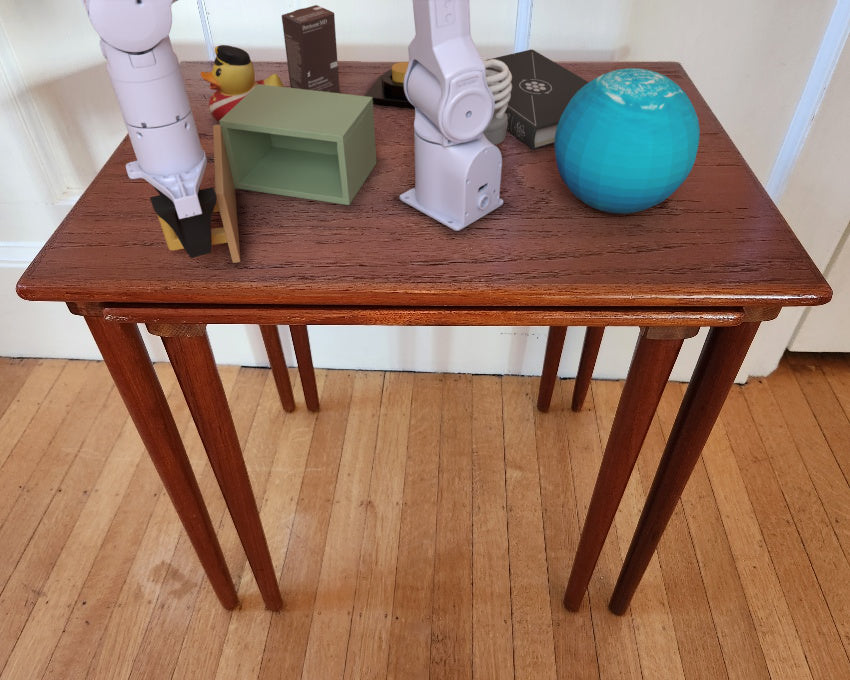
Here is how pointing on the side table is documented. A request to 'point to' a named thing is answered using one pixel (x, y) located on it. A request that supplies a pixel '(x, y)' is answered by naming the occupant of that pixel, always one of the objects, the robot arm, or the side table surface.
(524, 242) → the side table surface
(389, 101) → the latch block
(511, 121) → the book
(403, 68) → the button
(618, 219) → the side table surface
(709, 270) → the side table surface
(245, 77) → the toy
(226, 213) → the cupboard door
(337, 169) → the cupboard
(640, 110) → the decorative orb
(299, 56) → the box
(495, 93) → the light bulb
